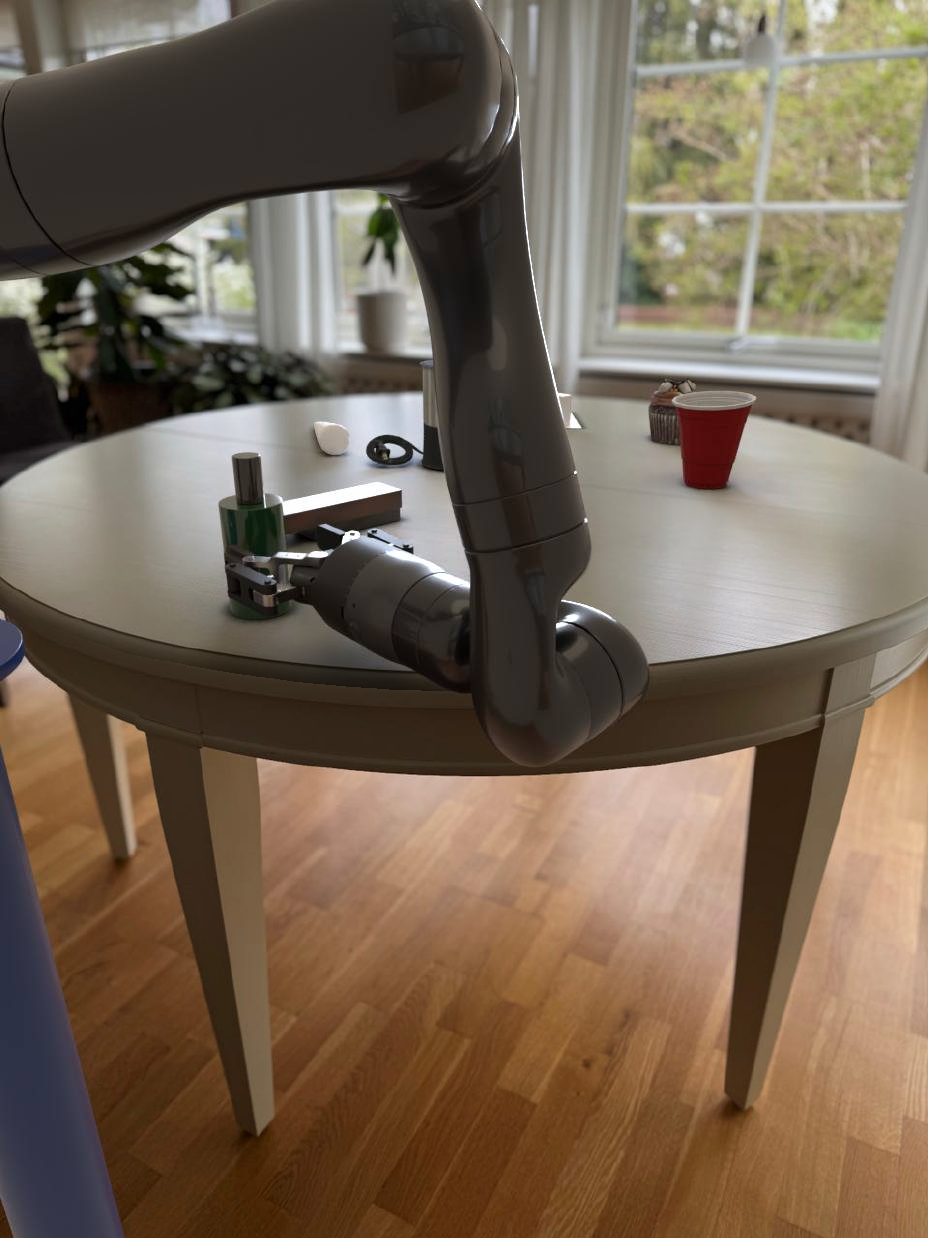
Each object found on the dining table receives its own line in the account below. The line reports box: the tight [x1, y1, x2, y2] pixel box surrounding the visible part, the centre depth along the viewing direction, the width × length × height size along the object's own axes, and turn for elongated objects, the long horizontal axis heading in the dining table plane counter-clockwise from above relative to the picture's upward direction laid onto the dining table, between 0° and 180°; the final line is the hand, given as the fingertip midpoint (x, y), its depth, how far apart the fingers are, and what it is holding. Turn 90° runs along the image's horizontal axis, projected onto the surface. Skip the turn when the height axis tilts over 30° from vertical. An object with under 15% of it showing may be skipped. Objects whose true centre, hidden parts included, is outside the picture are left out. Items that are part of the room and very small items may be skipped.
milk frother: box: [365, 358, 444, 471], centre depth 125 cm, size 14×16×15 cm
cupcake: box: [647, 377, 697, 446], centre depth 143 cm, size 10×10×10 cm
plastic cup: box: [672, 390, 757, 490], centre depth 116 cm, size 11×11×12 cm
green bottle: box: [217, 451, 292, 621], centre depth 75 cm, size 5×5×14 cm
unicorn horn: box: [313, 421, 351, 456], centre depth 142 cm, size 5×24×5 cm, turn 13°
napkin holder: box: [557, 392, 582, 429], centre depth 159 cm, size 15×11×6 cm
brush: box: [282, 481, 403, 542], centre depth 98 cm, size 18×5×4 cm, turn 131°
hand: (276, 545), depth 72 cm, fingers open, 8 cm apart
